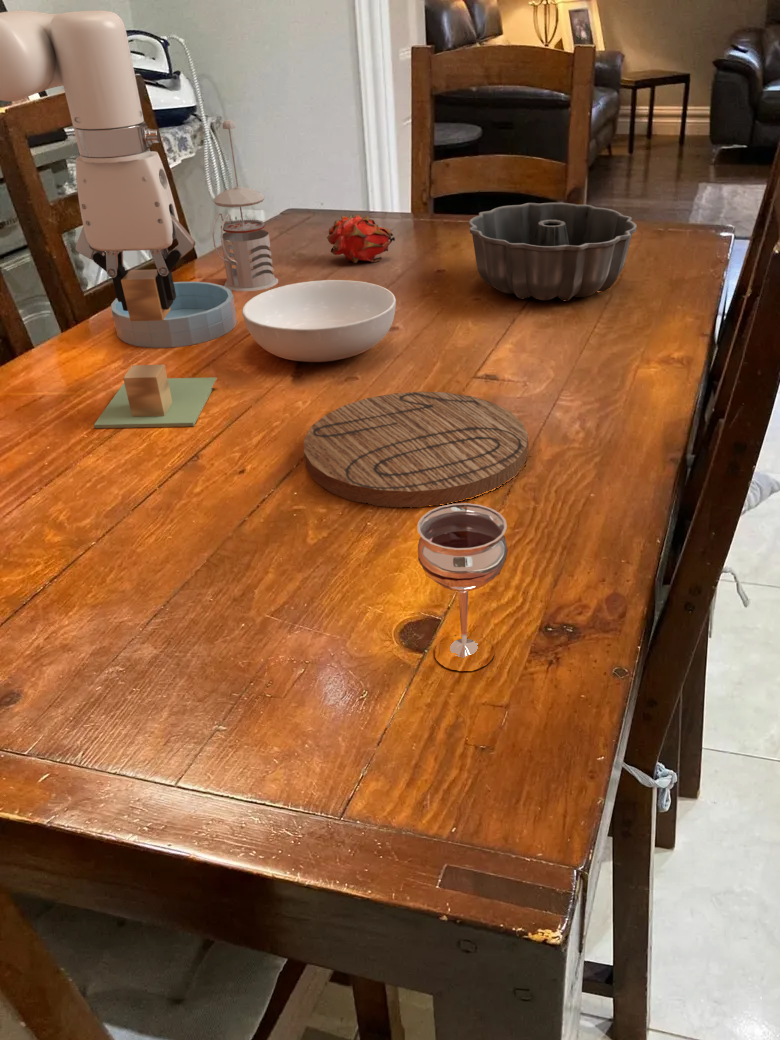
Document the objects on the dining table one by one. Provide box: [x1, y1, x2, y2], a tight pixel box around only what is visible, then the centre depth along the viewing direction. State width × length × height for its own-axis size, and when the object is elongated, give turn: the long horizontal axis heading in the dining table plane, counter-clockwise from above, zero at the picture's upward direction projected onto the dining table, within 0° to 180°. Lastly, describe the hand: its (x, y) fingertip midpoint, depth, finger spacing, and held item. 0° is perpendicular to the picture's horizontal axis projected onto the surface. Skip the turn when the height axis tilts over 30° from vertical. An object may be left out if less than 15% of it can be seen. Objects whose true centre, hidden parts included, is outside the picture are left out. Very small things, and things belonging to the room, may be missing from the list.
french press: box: [212, 119, 279, 292], centre depth 149 cm, size 10×12×25 cm
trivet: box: [303, 391, 529, 509], centre depth 105 cm, size 25×25×2 cm
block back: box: [121, 268, 171, 321], centre depth 113 cm, size 4×4×5 cm
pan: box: [110, 281, 238, 349], centre depth 138 cm, size 17×17×4 cm
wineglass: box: [416, 502, 508, 658], centre depth 72 cm, size 7×7×12 cm
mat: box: [93, 376, 218, 429], centre depth 118 cm, size 12×14×1 cm
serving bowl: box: [241, 279, 397, 363], centre depth 129 cm, size 21×21×7 cm
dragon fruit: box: [326, 214, 396, 264], centre depth 165 cm, size 8×8×12 cm
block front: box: [122, 364, 173, 417], centre depth 114 cm, size 4×4×5 cm
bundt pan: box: [468, 202, 638, 302], centre depth 150 cm, size 26×26×10 cm
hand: (148, 305), depth 114 cm, fingers closed on block back, 4 cm apart
